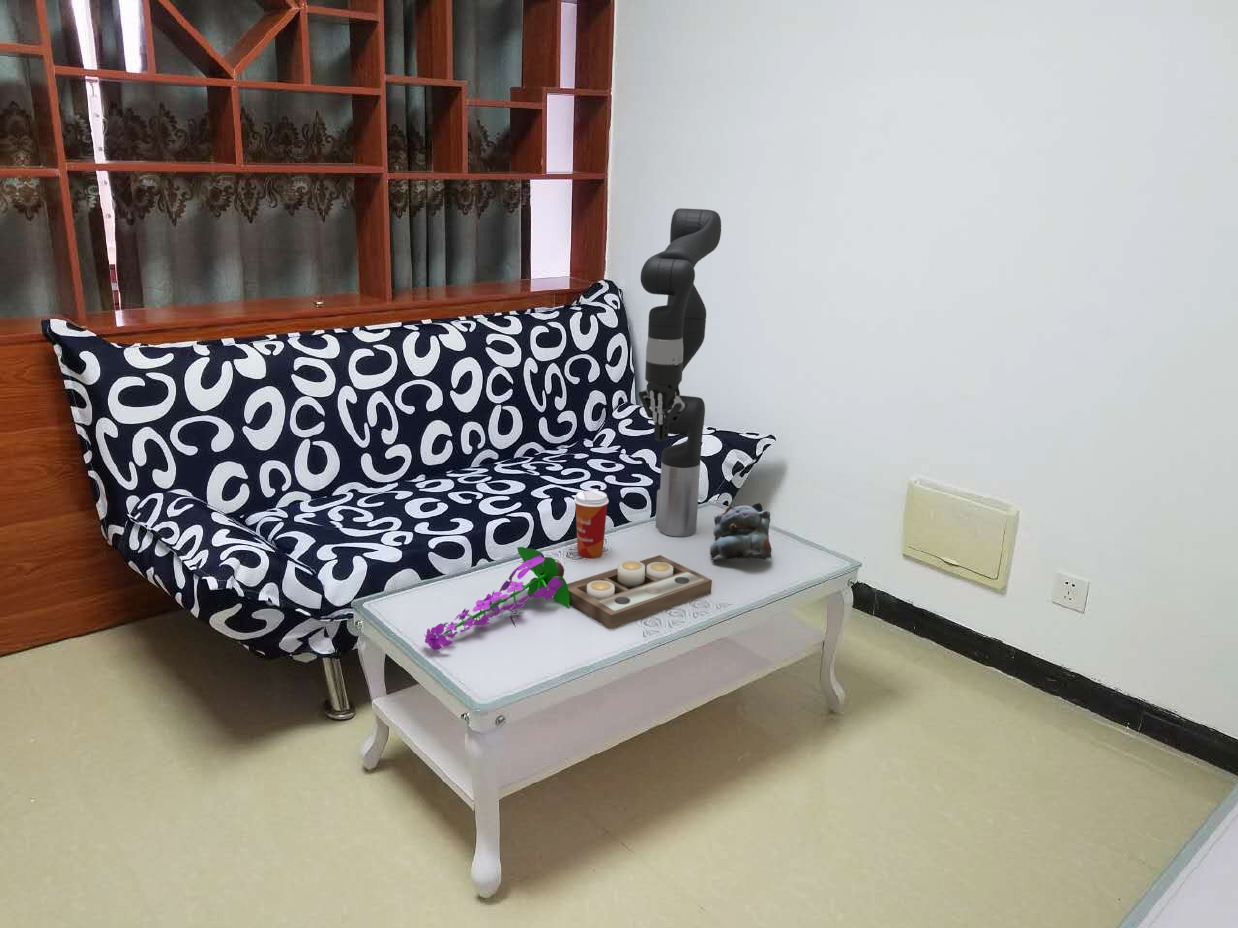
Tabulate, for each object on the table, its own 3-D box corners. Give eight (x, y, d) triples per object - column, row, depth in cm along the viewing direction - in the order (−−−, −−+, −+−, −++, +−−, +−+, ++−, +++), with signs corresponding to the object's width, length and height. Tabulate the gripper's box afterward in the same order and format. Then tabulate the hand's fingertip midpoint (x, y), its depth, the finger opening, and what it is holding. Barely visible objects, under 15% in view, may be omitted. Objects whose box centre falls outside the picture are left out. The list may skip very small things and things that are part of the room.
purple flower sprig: (575, 613, 199) (453, 695, 173) (522, 559, 204) (394, 630, 178) (598, 575, 192) (474, 655, 165) (542, 520, 196) (412, 589, 170)
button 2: (640, 579, 205) (641, 565, 204) (660, 572, 208) (660, 559, 207) (658, 588, 201) (659, 574, 200) (678, 581, 204) (678, 567, 203)
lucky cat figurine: (697, 561, 216) (699, 499, 219) (725, 566, 226) (725, 507, 228) (757, 559, 207) (758, 495, 210) (783, 564, 217) (783, 503, 220)
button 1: (580, 598, 195) (581, 584, 194) (602, 591, 198) (602, 577, 197) (598, 608, 191) (598, 594, 190) (619, 601, 194) (620, 586, 193)
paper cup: (567, 549, 220) (569, 491, 216) (598, 544, 223) (600, 487, 219) (581, 562, 214) (582, 502, 209) (612, 557, 217) (614, 498, 212)
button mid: (611, 578, 199) (612, 564, 198) (632, 571, 202) (633, 557, 201) (629, 587, 195) (630, 573, 194) (650, 580, 198) (650, 566, 197)
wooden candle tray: (560, 599, 196) (560, 584, 195) (659, 567, 212) (660, 553, 211) (610, 629, 184) (611, 613, 183) (711, 593, 201) (712, 578, 200)
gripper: (629, 355, 199) (626, 435, 204) (673, 367, 189) (669, 451, 195) (656, 350, 203) (653, 429, 209) (700, 362, 194) (695, 445, 199)
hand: (660, 440), depth 202 cm, fingers closed
